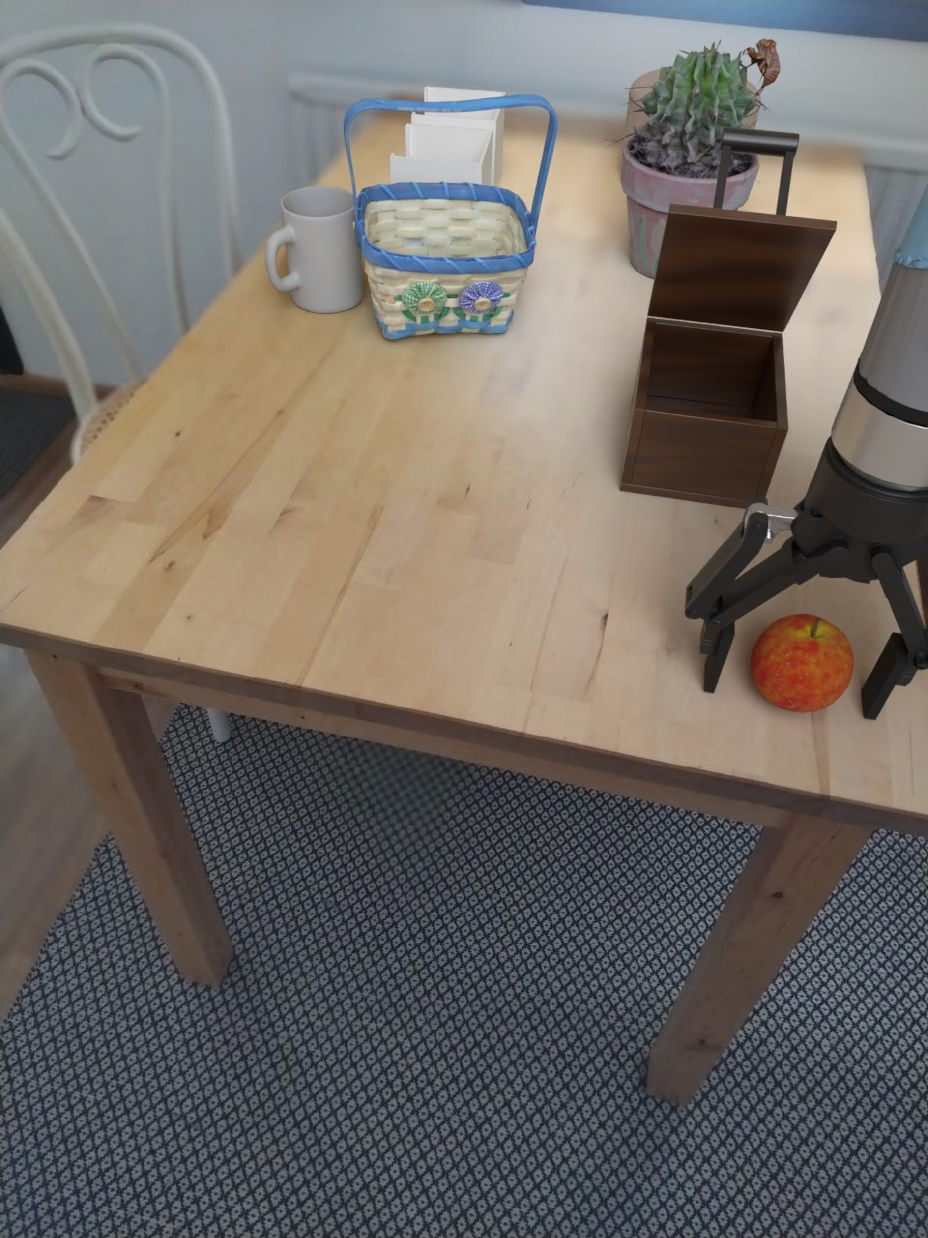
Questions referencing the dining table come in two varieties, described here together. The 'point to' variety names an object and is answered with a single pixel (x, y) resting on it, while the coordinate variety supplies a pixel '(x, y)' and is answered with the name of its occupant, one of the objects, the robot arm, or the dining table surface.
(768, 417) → the chest
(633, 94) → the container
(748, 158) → the potted plant
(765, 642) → the fruit
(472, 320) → the basket
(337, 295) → the mug
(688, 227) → the lid
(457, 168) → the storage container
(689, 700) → the dining table surface
